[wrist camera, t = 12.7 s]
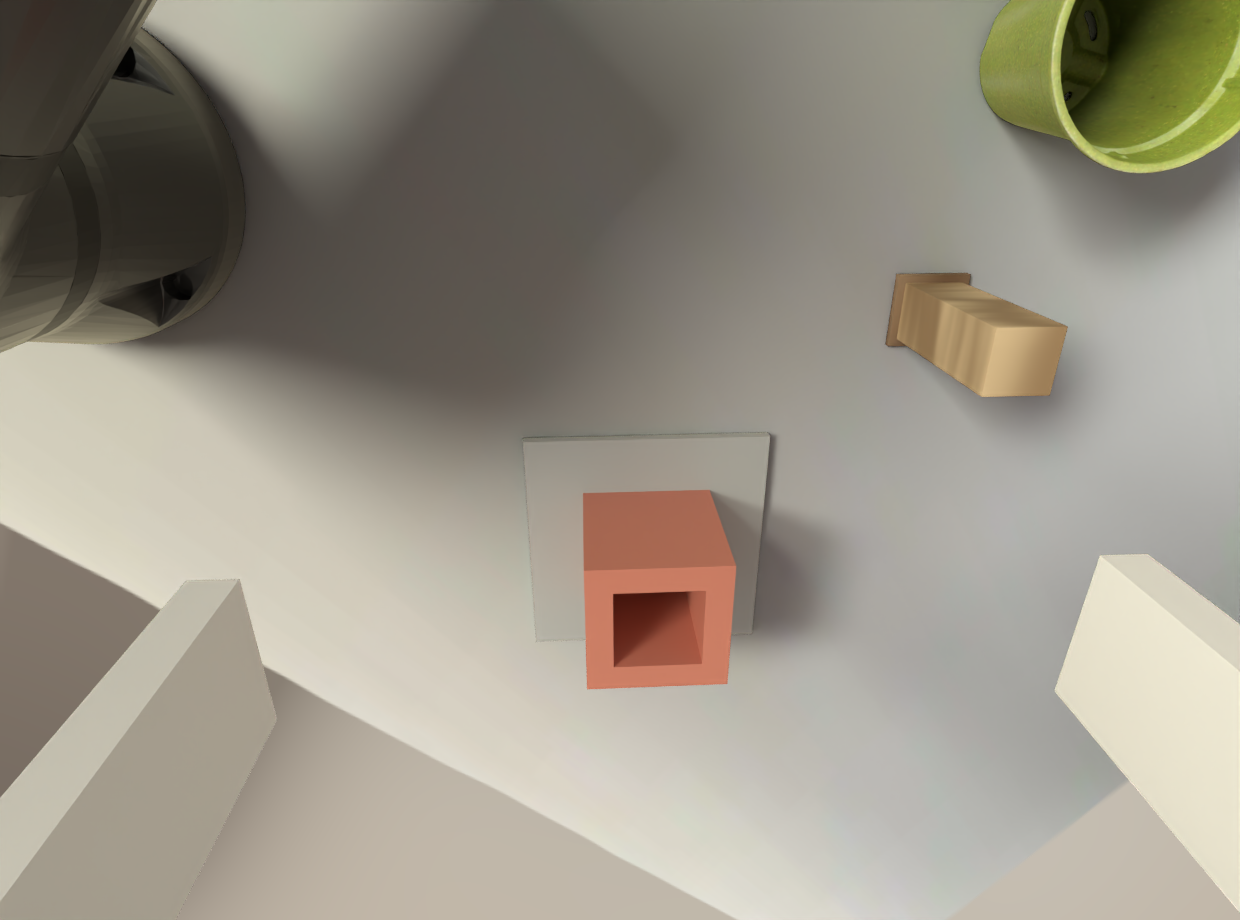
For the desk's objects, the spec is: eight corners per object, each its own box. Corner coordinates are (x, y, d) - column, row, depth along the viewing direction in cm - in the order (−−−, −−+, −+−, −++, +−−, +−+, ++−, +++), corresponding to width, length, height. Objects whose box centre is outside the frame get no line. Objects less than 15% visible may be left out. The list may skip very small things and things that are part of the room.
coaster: (536, 635, 47) (536, 641, 46) (523, 437, 41) (522, 442, 40) (749, 628, 47) (751, 634, 47) (767, 432, 41) (770, 436, 41)
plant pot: (1107, -119, 31) (1285, -199, 23) (1167, 84, 35) (1339, 74, 27) (911, 22, 33) (1015, -9, 25) (987, 201, 37) (1099, 223, 29)
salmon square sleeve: (586, 597, 45) (587, 689, 38) (583, 493, 42) (583, 570, 35) (703, 594, 45) (727, 683, 38) (709, 489, 42) (736, 565, 35)
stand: (885, 344, 40) (970, 405, 31) (896, 273, 38) (989, 318, 29) (953, 342, 40) (1056, 404, 31) (967, 272, 38) (1079, 316, 29)
